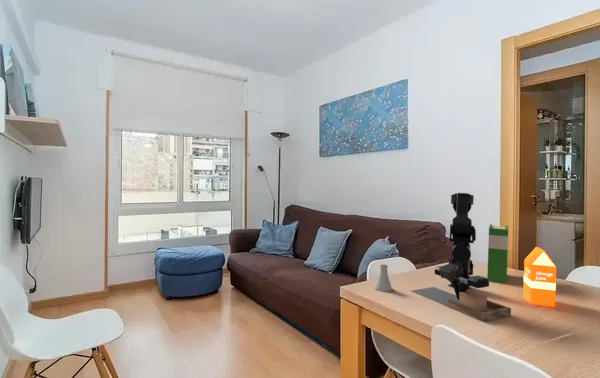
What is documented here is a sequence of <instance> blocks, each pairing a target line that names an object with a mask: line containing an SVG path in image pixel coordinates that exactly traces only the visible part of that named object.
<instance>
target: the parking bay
mask: <svg viewBox="0 0 600 378" xmlns="http://www.w3.org/2000/svg"><path fill="white" fill-rule="evenodd" d="M447 308H449V309H451V310H454V311H457V312H460V313H461V314H464V315H466V316H469V317H471V318H474V319H476V320H479V322H482V321H483V323H487V322H490V321H495V320H498V319H499V320H500V319H503V318H507V317H511V316H512V308H511V307H509V306H505V305H503V304H500V303H497V302H495V301H492V300H489V299H487V308H488V309H491V311H487V312H481V311H479V310H476V309H474V308H471V307H469V306H466V305H464V304H461V303H459V302H456V301H453V300H451V299H449V300H448V307H447Z"/></svg>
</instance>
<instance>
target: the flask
mask: <svg viewBox="0 0 600 378" xmlns="http://www.w3.org/2000/svg"><path fill="white" fill-rule="evenodd" d="M379 267H380V268H379V269H380V270H379V275H378V277H377V280H376V283H375V285H374V289H375V290H376V291H377V292H378V291H379V292H384V293H385V292H392V290H393V287H392V284H391V281H390V279H389V275H388V264H384V263H383V264H382V263H381V264H379Z"/></svg>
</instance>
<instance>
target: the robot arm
mask: <svg viewBox="0 0 600 378" xmlns="http://www.w3.org/2000/svg"><path fill="white" fill-rule="evenodd" d="M450 198H451V199H450V204H451V205H452V208H453V210H454V212H455V214H456V216H455V217H453V218H452V224H449V226H450V227H449V242H452V250H451V257H450V258H449V259H448V263H447V264H444V265H440V266H439V265H438V266H436V267H435V268H434V275H437V276H440V277H441V279H445V280H446V281H448V282H449V283H450V284H447V286H448V287H450V288H453V290H454V293H455V295H456V296H457V299H458V300H459V296H460V295H459V292H465V291H468V290H471V289H472V287H473V288H475V289H483V288H487V287H490V281H489V280H488V279H487V277H484V276H481V275H474V263H473V260H472V259H471V257H472V252H471V244H475V241H476V240H477V238H476V233H477V231H476V228H475V226H474V225H473V224H472V222H473V221H472V219H471V218H470V217H469V212H470V211H471V209H472V206H474V194H473V195H472V194H470V193H468V192H457V193H454V194H451V195H450Z"/></svg>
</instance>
